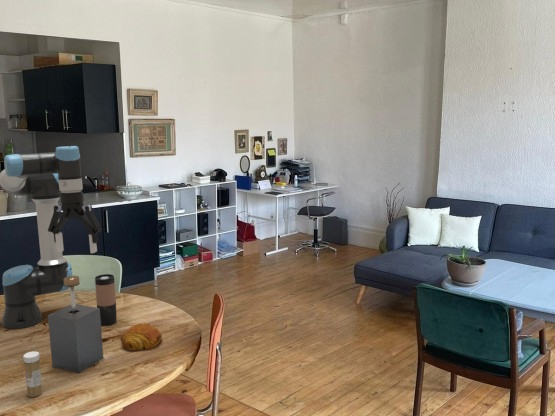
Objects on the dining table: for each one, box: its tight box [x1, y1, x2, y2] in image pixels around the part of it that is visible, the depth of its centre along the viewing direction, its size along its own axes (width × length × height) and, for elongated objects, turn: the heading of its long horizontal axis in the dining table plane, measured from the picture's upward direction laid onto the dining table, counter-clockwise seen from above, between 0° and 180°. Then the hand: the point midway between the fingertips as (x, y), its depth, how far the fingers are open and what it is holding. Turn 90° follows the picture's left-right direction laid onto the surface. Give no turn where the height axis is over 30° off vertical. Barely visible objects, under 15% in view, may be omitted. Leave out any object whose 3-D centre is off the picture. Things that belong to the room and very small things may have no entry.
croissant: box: [120, 323, 163, 351], centre depth 211 cm, size 14×16×8 cm
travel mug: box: [94, 273, 117, 327], centre depth 230 cm, size 8×8×20 cm
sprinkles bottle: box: [22, 350, 43, 398], centre depth 174 cm, size 5×5×14 cm
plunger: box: [64, 275, 80, 314], centre depth 193 cm, size 9×9×20 cm
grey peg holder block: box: [47, 303, 104, 374], centre depth 195 cm, size 12×12×19 cm
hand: (76, 252), depth 194 cm, fingers open, 13 cm apart
